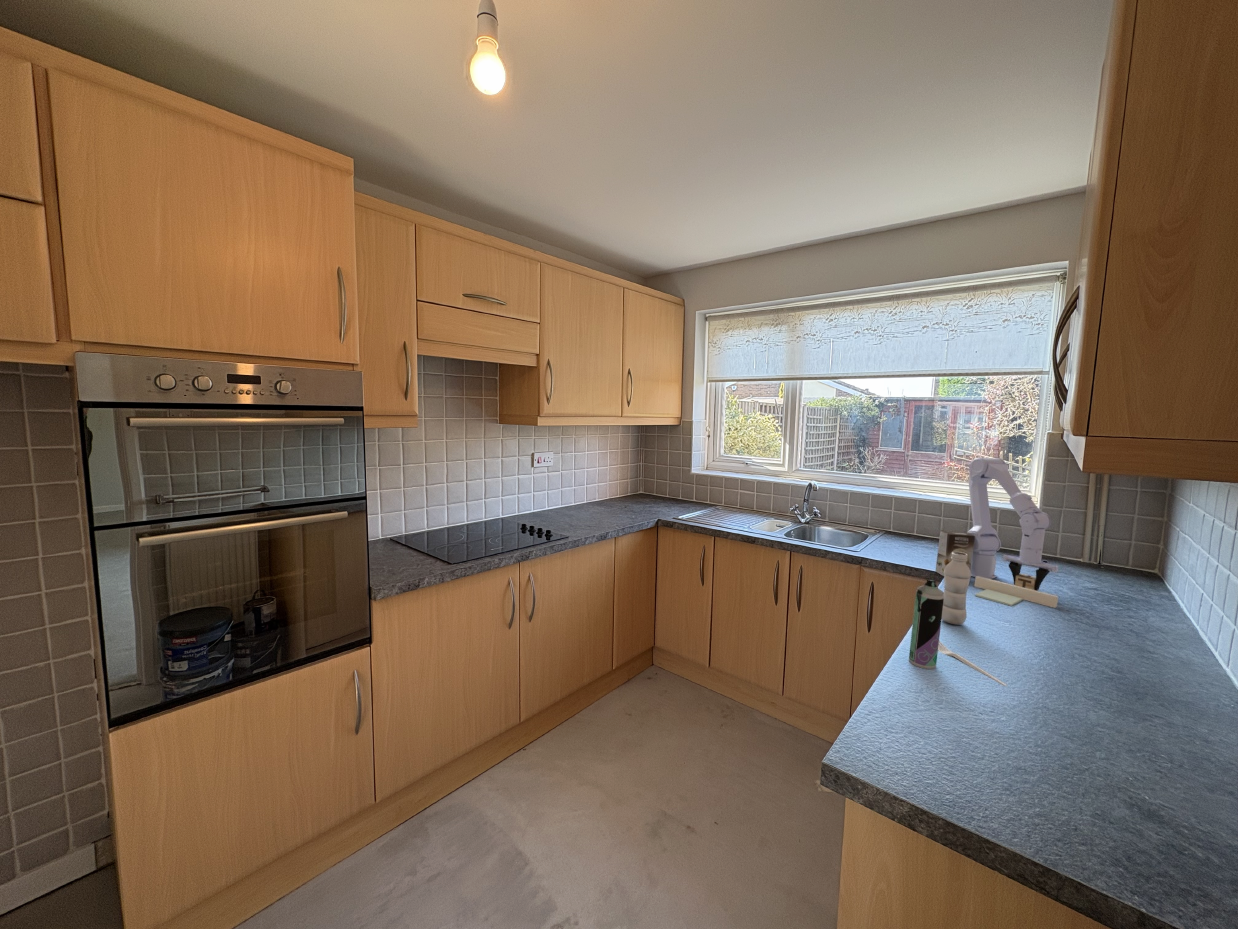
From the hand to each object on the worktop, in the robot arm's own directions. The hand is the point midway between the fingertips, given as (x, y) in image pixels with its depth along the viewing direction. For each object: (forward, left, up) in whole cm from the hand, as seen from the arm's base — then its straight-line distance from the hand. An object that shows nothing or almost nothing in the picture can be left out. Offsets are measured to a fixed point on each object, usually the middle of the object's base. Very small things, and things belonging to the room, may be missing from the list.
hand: (1026, 587), depth 171 cm
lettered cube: (0, 0, -1) cm, 1 cm away
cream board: (+8, -1, -2) cm, 8 cm away
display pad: (+15, -3, -2) cm, 15 cm away
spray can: (+86, +5, -2) cm, 86 cm away
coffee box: (+1, -22, -2) cm, 22 cm away
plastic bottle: (+52, -2, -2) cm, 52 cm away
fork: (+76, +10, -3) cm, 77 cm away
